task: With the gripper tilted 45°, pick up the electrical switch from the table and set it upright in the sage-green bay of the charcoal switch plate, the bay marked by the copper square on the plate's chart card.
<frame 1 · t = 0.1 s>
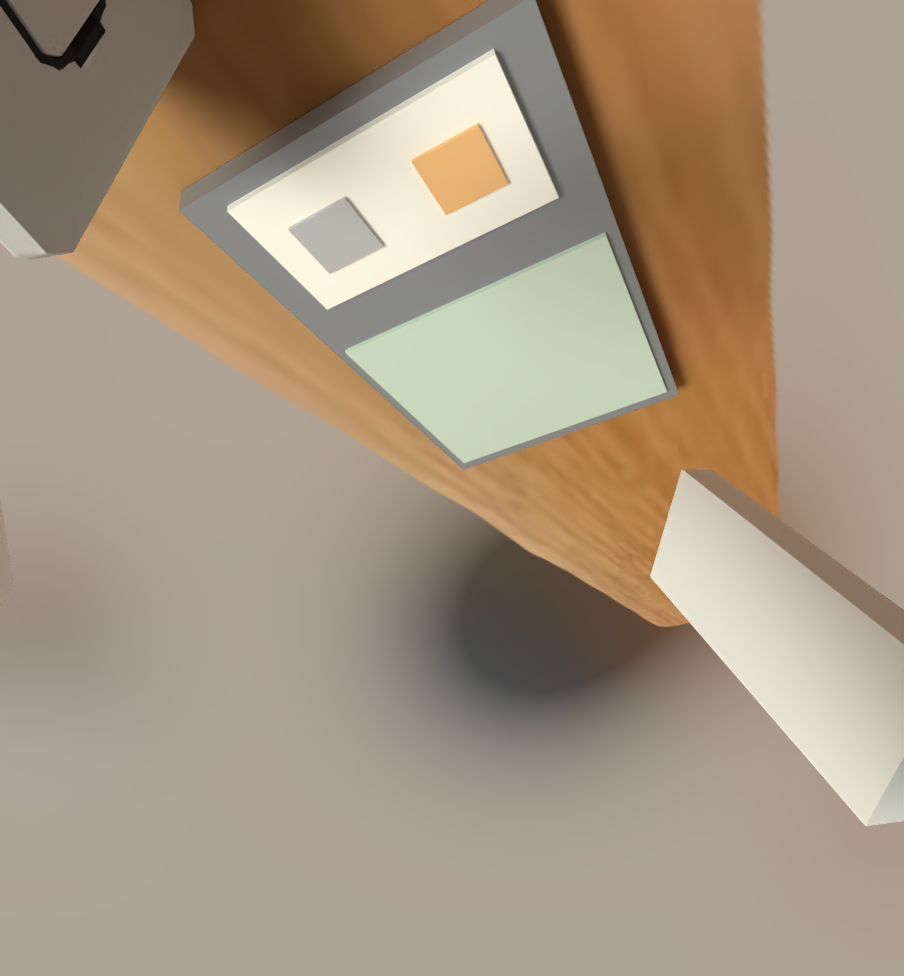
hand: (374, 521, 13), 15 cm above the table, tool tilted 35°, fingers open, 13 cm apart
switch plate: (482, 306, 30), on the table
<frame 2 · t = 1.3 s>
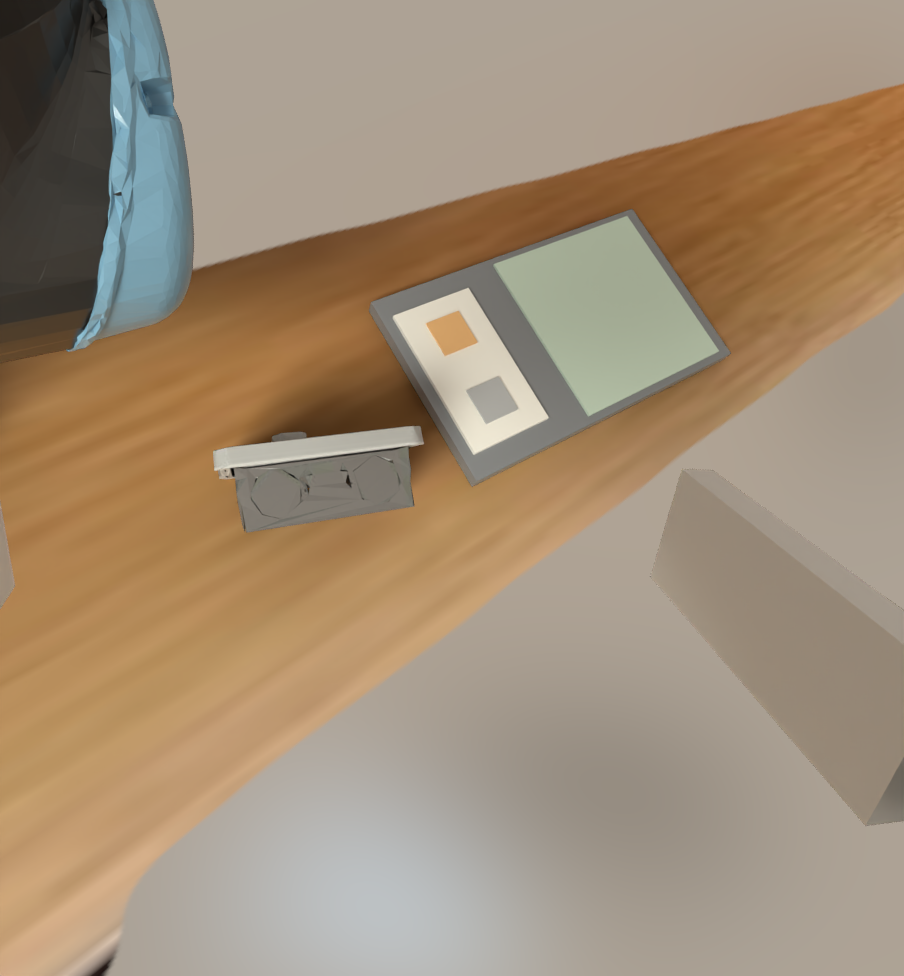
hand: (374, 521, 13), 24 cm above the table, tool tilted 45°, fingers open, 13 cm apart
switch plate: (557, 337, 45), on the table
electrical switch: (315, 500, 38), on the table
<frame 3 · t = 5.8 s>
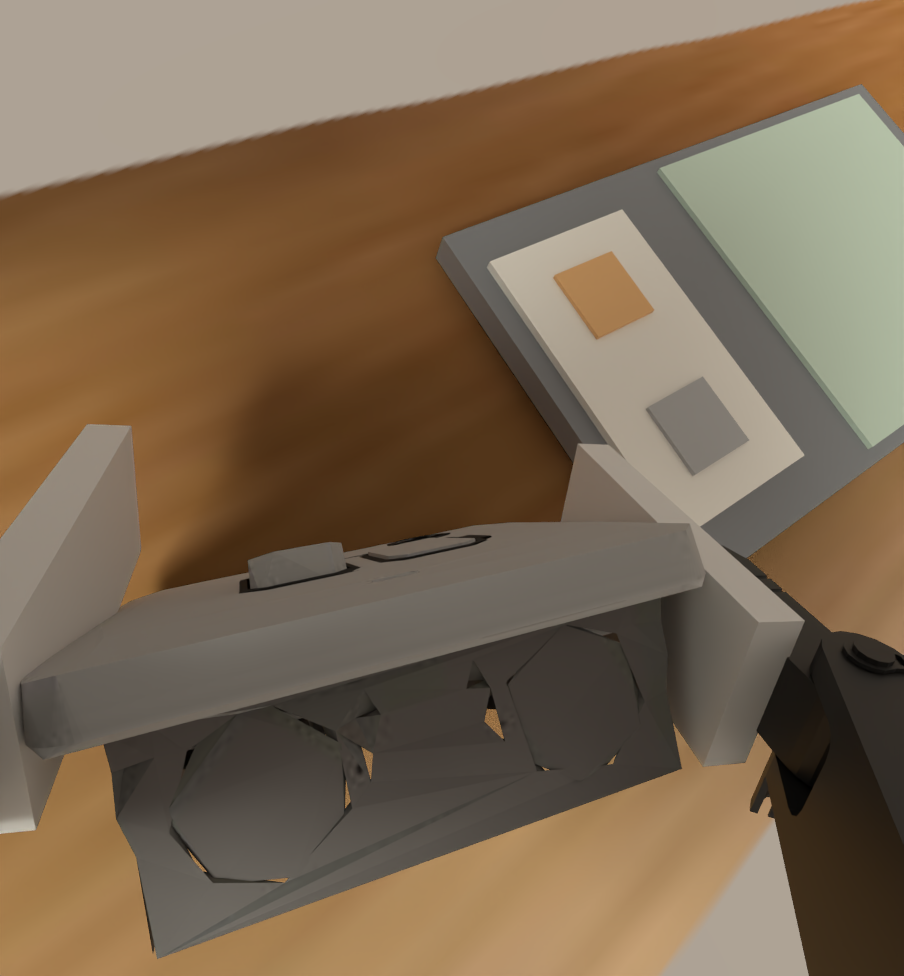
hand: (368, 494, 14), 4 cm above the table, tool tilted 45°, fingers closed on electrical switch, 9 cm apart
switch plate: (775, 302, 25), on the table
electrical switch: (357, 662, 17), on the table, touching gripper
when the fingers open (6 cm above the table, at t = 13.0 s): electrical switch drops 1 cm, resting on switch plate.
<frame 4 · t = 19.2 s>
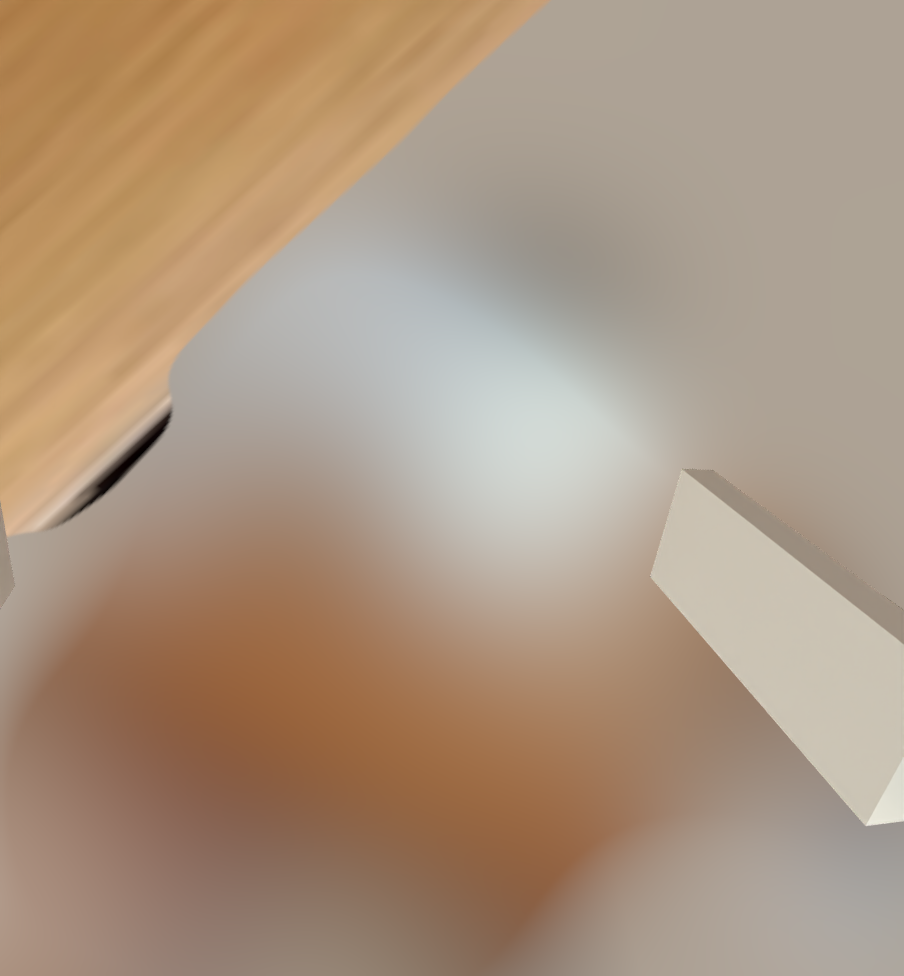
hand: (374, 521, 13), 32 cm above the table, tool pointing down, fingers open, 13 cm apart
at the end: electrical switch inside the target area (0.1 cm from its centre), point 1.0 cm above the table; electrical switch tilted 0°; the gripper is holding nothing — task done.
